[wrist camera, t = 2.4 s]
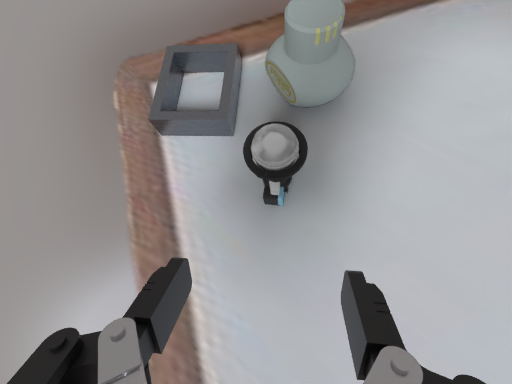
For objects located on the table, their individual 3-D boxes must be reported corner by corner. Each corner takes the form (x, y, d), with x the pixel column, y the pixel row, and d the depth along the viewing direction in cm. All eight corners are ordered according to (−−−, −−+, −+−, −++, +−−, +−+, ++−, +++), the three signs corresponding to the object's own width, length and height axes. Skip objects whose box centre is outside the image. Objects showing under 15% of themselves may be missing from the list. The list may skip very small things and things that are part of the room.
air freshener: (259, 73, 35) (250, -2, 26) (308, 45, 36) (316, -38, 26) (304, 127, 31) (312, 62, 22) (357, 95, 32) (388, 19, 23)
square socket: (242, 64, 36) (237, 43, 32) (233, 135, 32) (227, 119, 29) (177, 66, 37) (167, 46, 34) (161, 135, 33) (148, 119, 30)
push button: (260, 154, 31) (249, 99, 21) (303, 158, 30) (312, 102, 20) (252, 205, 29) (235, 170, 19) (298, 211, 28) (305, 176, 18)
